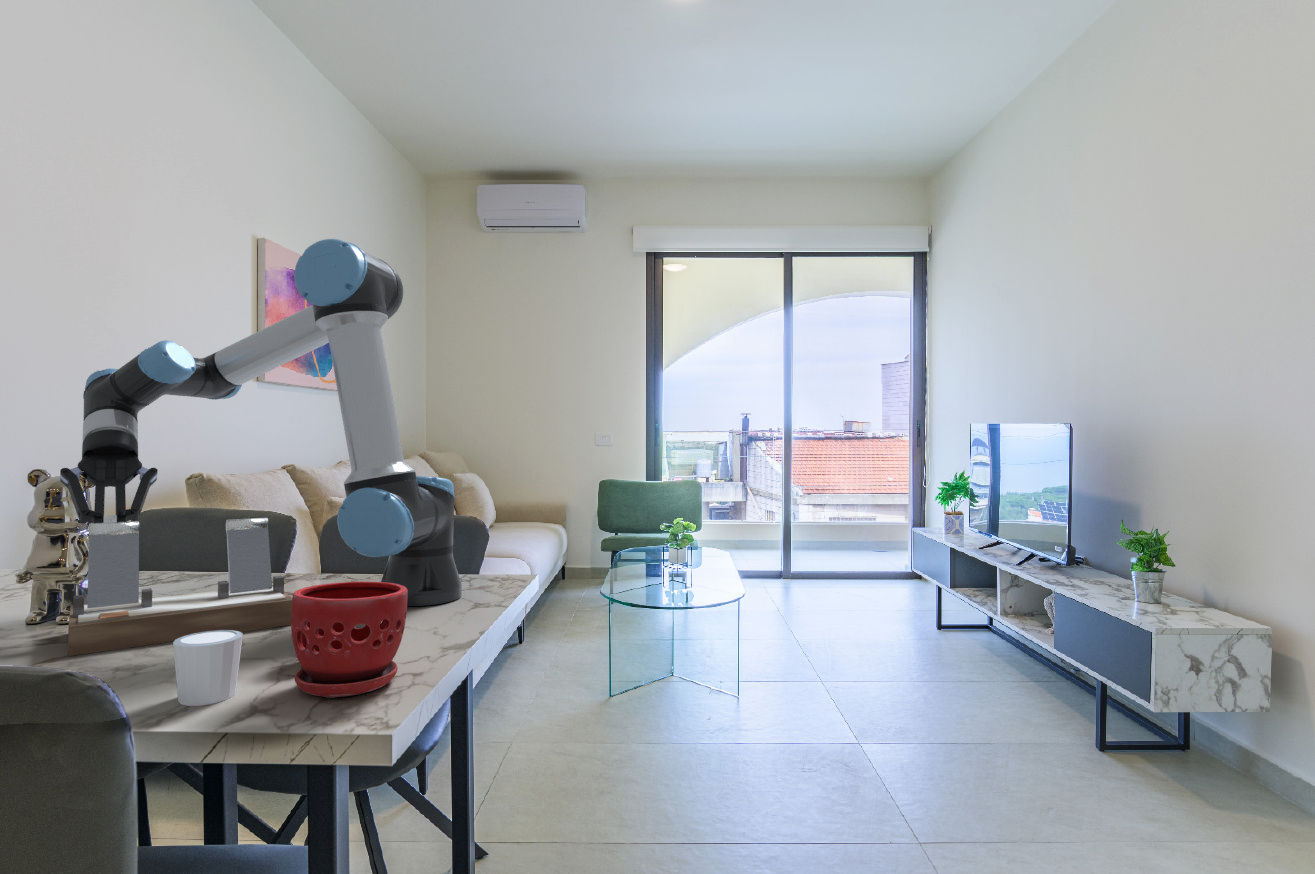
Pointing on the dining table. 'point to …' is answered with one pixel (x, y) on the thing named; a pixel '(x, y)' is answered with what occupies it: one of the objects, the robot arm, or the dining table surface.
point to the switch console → (175, 617)
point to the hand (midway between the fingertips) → (109, 553)
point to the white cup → (207, 666)
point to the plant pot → (347, 636)
